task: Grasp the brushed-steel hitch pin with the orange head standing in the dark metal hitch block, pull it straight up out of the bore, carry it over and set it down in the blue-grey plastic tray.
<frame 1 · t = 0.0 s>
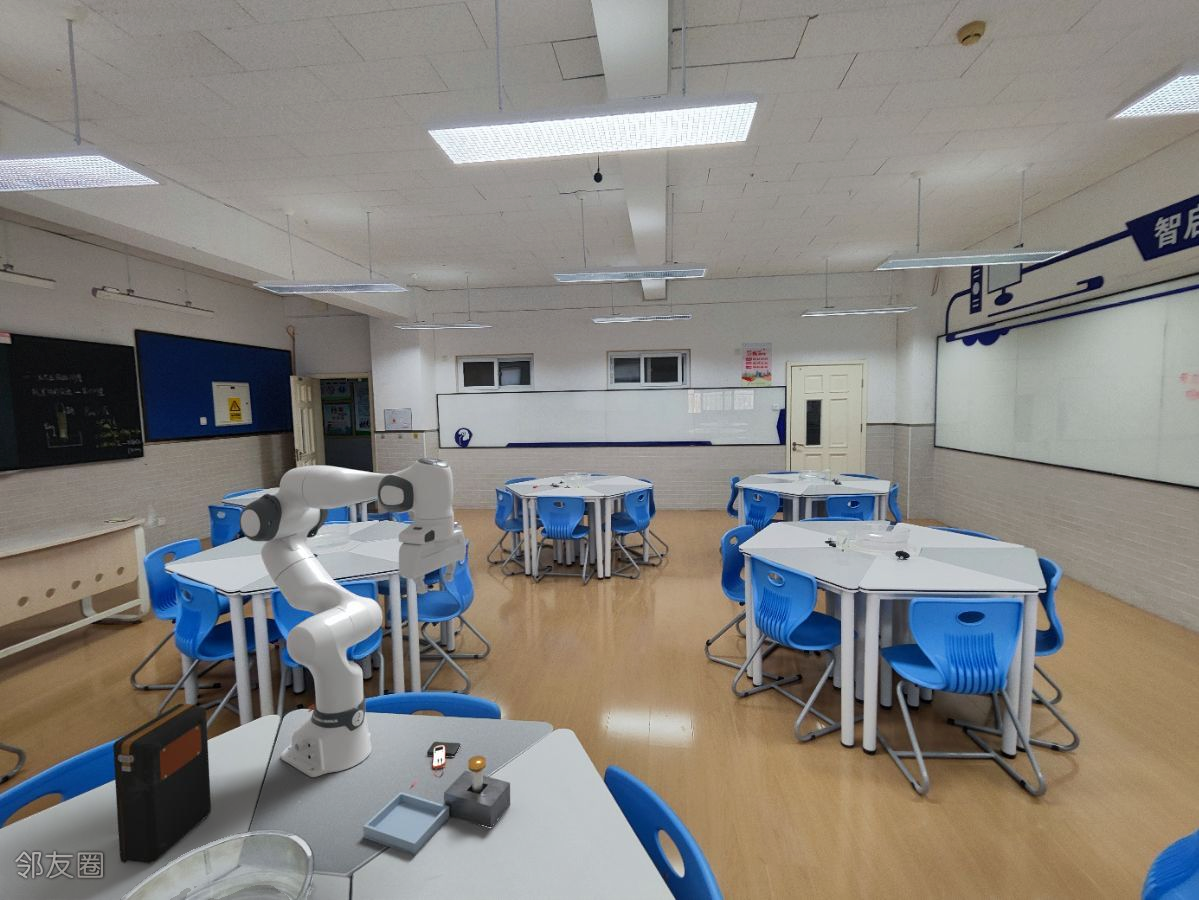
hand: (435, 586, 128), 48 cm above the table, fingers open, 8 cm apart
hitch block: (477, 808, 122), on the table
black case: (168, 837, 115), on the table
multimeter: (440, 770, 137), on the table
pin: (477, 809, 122), resting in hitch block
tray: (407, 827, 117), on the table
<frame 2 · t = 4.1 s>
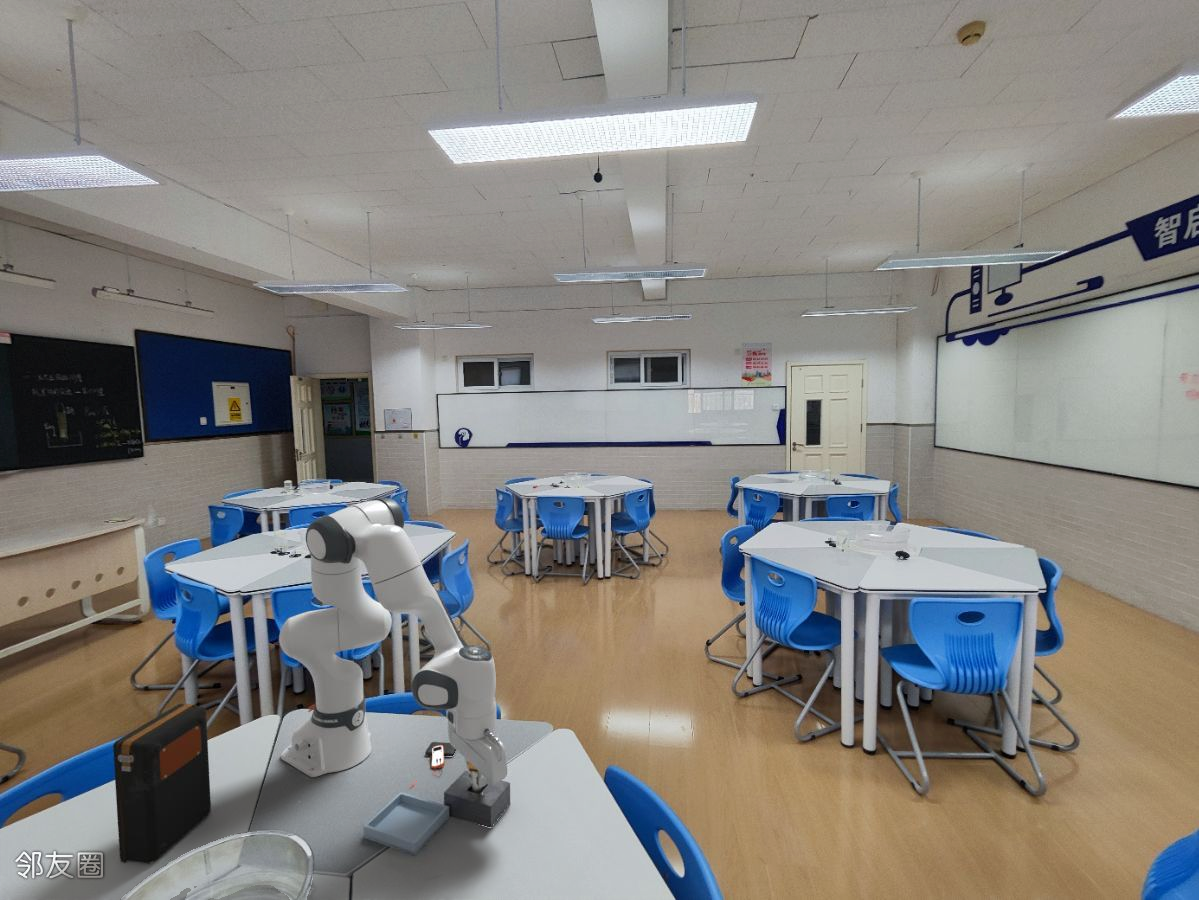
hand: (477, 780, 122), 7 cm above the table, fingers closed on pin, 2 cm apart
pin: (477, 808, 122), resting in hitch block, touching gripper
everything else where it was.
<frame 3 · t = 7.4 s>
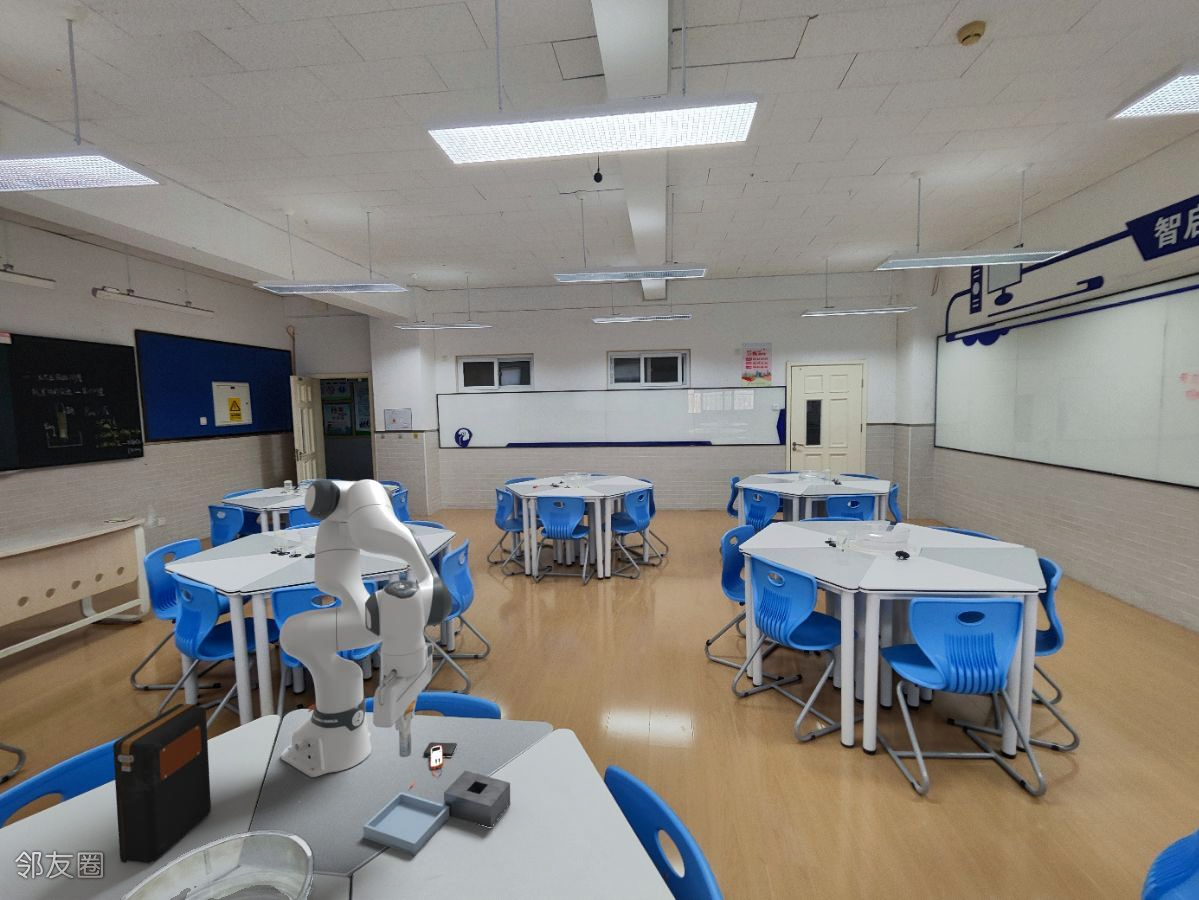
hand: (405, 723, 116), 23 cm above the table, fingers closed on pin, 2 cm apart
pin: (405, 753, 116), point 16 cm above the table, touching gripper
everything else where it was.
when the fingers open (8 cm above the table, at t = 10.8 s): pin stays where it is, resting on tray.
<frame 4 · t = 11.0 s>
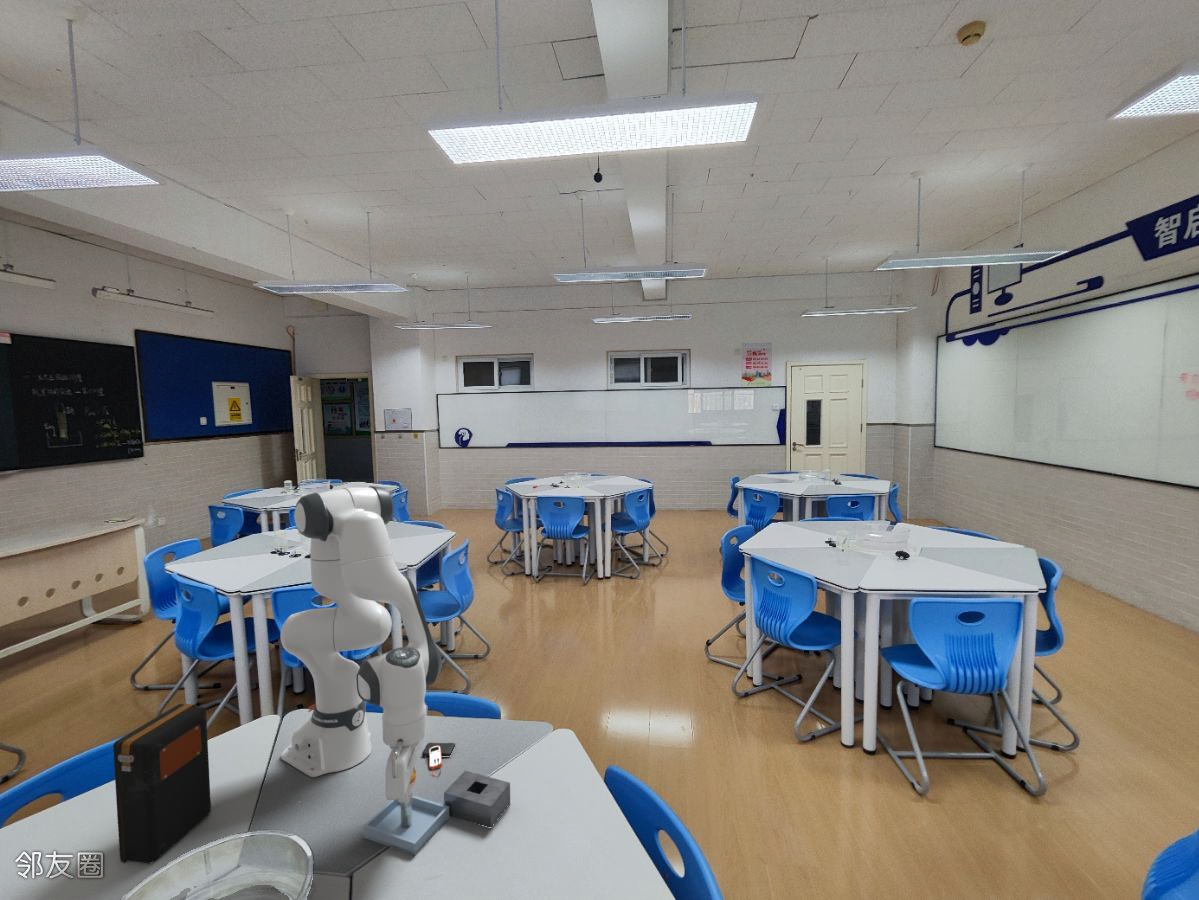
hand: (406, 789, 117), 8 cm above the table, fingers open, 5 cm apart
pin: (406, 824, 117), point 1 cm above the table, touching tray
everything else where it was.
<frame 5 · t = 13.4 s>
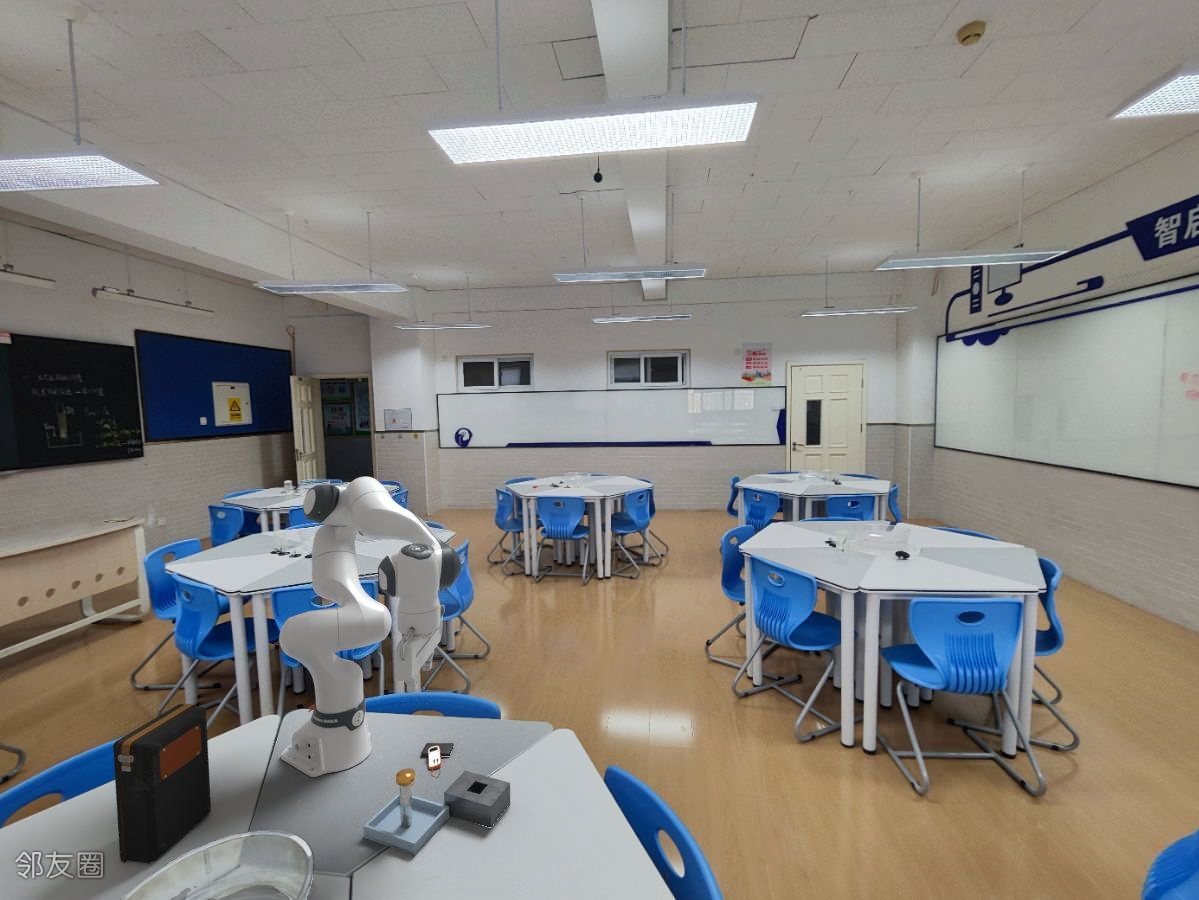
hand: (420, 679, 121), 30 cm above the table, fingers open, 8 cm apart
nothing on the table moved.
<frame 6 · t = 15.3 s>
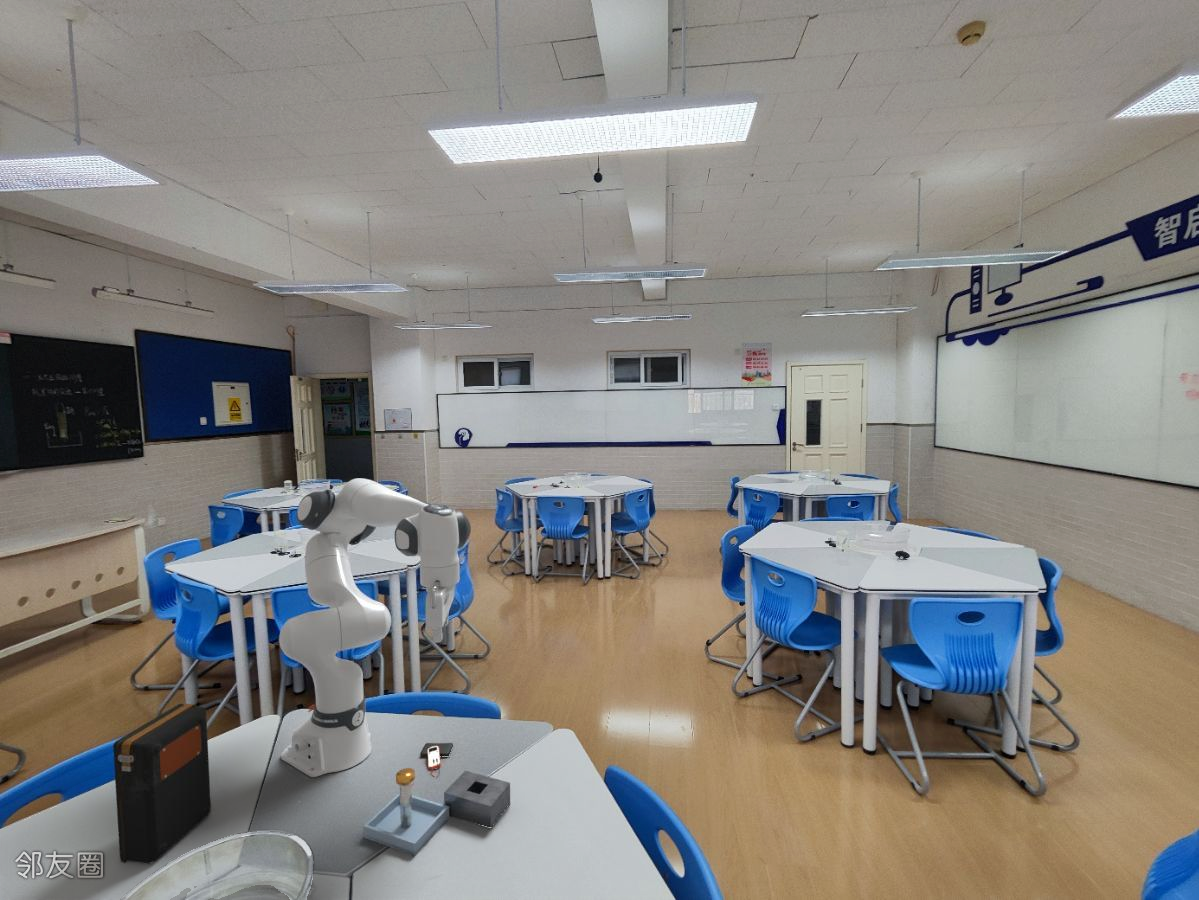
hand: (441, 633, 128), 37 cm above the table, fingers open, 8 cm apart
at the end: pin inside the target area on the tray (0.2 cm from its centre), point 0.6 cm above the tray's base; pin touching tray; the gripper is holding nothing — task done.
